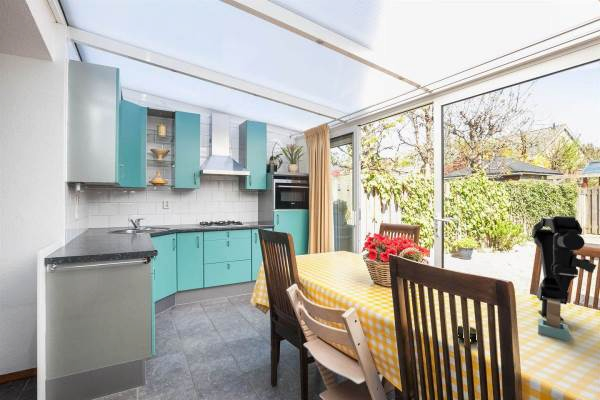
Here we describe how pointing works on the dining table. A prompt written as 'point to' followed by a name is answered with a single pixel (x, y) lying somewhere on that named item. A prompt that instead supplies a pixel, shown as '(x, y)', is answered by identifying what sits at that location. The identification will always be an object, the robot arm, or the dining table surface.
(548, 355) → the dining table surface
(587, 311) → the dining table surface
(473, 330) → the tape measure
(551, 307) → the square wooden post
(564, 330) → the square teal collar
